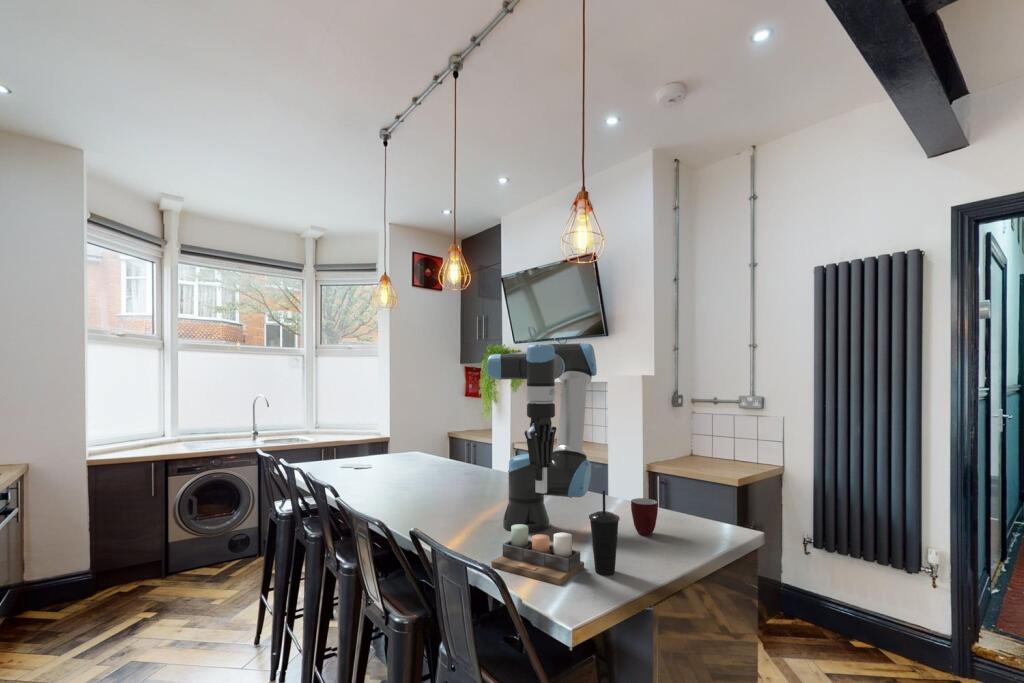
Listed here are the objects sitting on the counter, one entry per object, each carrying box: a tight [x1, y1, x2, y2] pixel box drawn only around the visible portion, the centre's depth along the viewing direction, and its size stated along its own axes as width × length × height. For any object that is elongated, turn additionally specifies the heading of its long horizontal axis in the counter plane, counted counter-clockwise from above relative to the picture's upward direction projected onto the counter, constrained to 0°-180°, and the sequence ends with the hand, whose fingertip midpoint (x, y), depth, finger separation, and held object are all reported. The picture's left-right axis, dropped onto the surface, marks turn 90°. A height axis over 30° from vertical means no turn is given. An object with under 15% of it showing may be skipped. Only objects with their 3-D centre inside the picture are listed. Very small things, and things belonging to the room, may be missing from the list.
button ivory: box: [553, 532, 573, 558], centre depth 127 cm, size 5×5×5 cm
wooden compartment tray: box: [490, 539, 585, 586], centre depth 129 cm, size 20×13×4 cm, turn 56°
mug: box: [630, 497, 659, 537], centre depth 156 cm, size 11×8×10 cm
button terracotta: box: [531, 533, 551, 553], centre depth 131 cm, size 5×5×5 cm
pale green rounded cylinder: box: [510, 524, 529, 548], centre depth 134 cm, size 5×5×5 cm
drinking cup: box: [588, 490, 621, 577], centre depth 127 cm, size 8×8×20 cm
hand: (541, 492), depth 132 cm, fingers closed
